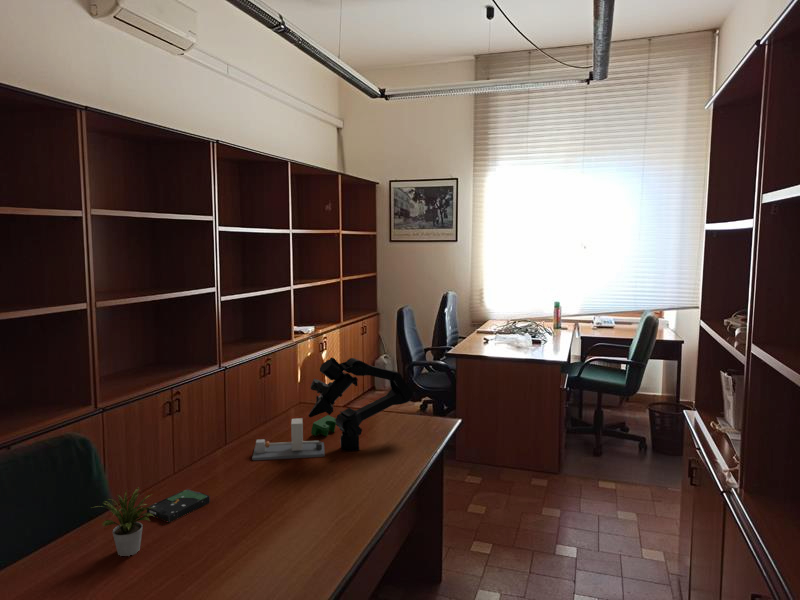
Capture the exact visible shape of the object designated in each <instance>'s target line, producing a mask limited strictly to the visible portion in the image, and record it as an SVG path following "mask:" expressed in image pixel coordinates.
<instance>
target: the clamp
mask: <svg viewBox="0 0 800 600" xmlns="http://www.w3.org/2000/svg"><path fill="white" fill-rule="evenodd" d="M336 418H337V417H333V416H331V415H329V414H327V415H326V416H324V417H322V418H319V419H318V420H316V421H314V422H313V423H312V426H311V430H310V434H311V435H313V436H314V437H317V436H319V435H323V436H325V437H328V436H329V432H331V433H333V432H334V433H335V431H336V426H337V425H336Z"/></svg>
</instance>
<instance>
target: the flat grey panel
mask: <svg viewBox="0 0 800 600" xmlns="http://www.w3.org/2000/svg"><path fill="white" fill-rule="evenodd" d="M325 453H326V452H325V442H322V441H320V440H303V450H295V451H292V441H282V442H270V441H266V439H256V441H255V446H254V450H253V454H252V458H251V459H252V460H253V461H265V460H266V461H267V460H268V461H269V460H285V459H286V460H289V459H303V458H320V457H321V458H322V457H325ZM252 460H251V461H252Z"/></svg>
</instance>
